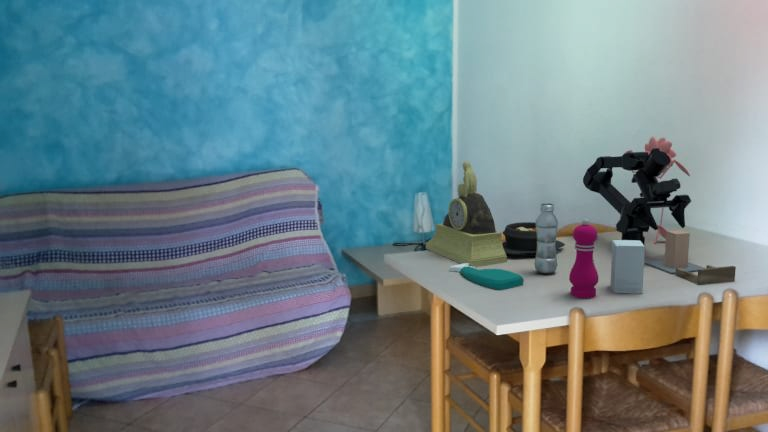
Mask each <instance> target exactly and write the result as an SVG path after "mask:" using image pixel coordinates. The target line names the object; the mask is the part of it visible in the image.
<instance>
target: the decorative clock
mask: <svg viewBox="0 0 768 432" xmlns="http://www.w3.org/2000/svg"><path fill="white" fill-rule="evenodd" d="M462 168H463V170H464V172H463V180H462V181H463V183H458V184H457V196H458V197H456V198H453V199H451V201H450V202H449V205H448V212H447V214H446V215H445V216H444V220H443V222H442V223H436V224H435V225H436V228H435V229H436V230H435V233H434V235H433V236H432V238H431V239H429V240H428V241H427V242H425V249H426V250H428V251H431V252H432V253H435V254H437V255H440V256H443V257H445V258H447V259H450V260H453V261H455V262H457V263H459V264H463V263H469V266H472V267H476V268H479V267H484V266H485V267H486V266H491V265H498V264H504V263H507V262H508V256H507V254H506V253H505V251H504V249H503V245H502V243H503V241H502V232H500V231H496V224H495V220H494V217H493V215H492V212H491V208H490V207H489V205H488V204H487V202H486V200H485V198H484V196H483V195H482V194H480V193H477V186H478V184H477V177H476V173H475V172H474V170H473V168H472V164H471V162H470V161H464V162H463V163H462Z"/></svg>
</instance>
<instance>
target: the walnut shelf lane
mask: <svg viewBox="0 0 768 432" xmlns="http://www.w3.org/2000/svg"><path fill="white" fill-rule="evenodd" d="M736 267H737V266H735V265H728V266H727V265H726V266H717V267H716V266H713V265H711V264H706V267H705V268H706V269H698V272H697V274H696V273H695V272H688V271H686V270H683V269H680V268H676V274H675V276H676V277H679V278H682V279H684V280H687V281H689V282H692V283H695V284H696V285H699V286H700V285H711V283H712V284H719V283H720V282H721V283H728V282H729V283H730V282H735V281H736V269H737V268H736Z"/></svg>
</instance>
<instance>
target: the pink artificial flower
mask: <svg viewBox="0 0 768 432" xmlns="http://www.w3.org/2000/svg"><path fill="white" fill-rule="evenodd" d="M672 145H673V141H670V140H667V141H666V137H664V136H663V137H660V138H659V139H658V140H657V139H656V138H655V136H651V137H650V138H649V140H648V143H645V144H644V150H645V151H644V152H648V155H649V154H650V152H651V150H652V149H653V148H659V149H660V151H662V152H664V153H666V154H667V155H669V157H670V159H671V161H670V163H669V165H668V166H667V167H666V168H665V170H664V171H663V172H662V174H661V175H660V176H656V178H657V179H662V178H663V177H664V175H665V174H666V173H667V172H668V171H669V170H670V168H671V167H673V165H674V164H675V165H676V166H677V168H678V169H679V170H681V171H682V172H684V174H686V175H687V176H688V177H690V176H691V174H690V172H689V171H688V170H687V168H685V166H684V165H683V164H681V162H679V161H678V160H677V159H675V157H676V156H677V153H676V152H675V150H673V149H671V148H672ZM629 152H634V151H633V150H632V149H629V150H626V151H625V152H624V153H623V154H626V153H629ZM673 158H674V159H673ZM637 171H638V170H635V171H631V173H632V174H636V172H637ZM663 214H664V208H662V209H661V217H660V224H657V227H658V229H657V230H656V231H657V233H656V234H655V235H656V236H655V239H654V241H653V243H654V244H656V243H657V241H658V237H659V235H660V236H661V237H662V238H664V239H665V240H666V231H667V229H666V228H665V227H664V226H662V223H663V217H664V216H663ZM647 234H650V235H654V232H653V233H652V232H647Z"/></svg>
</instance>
